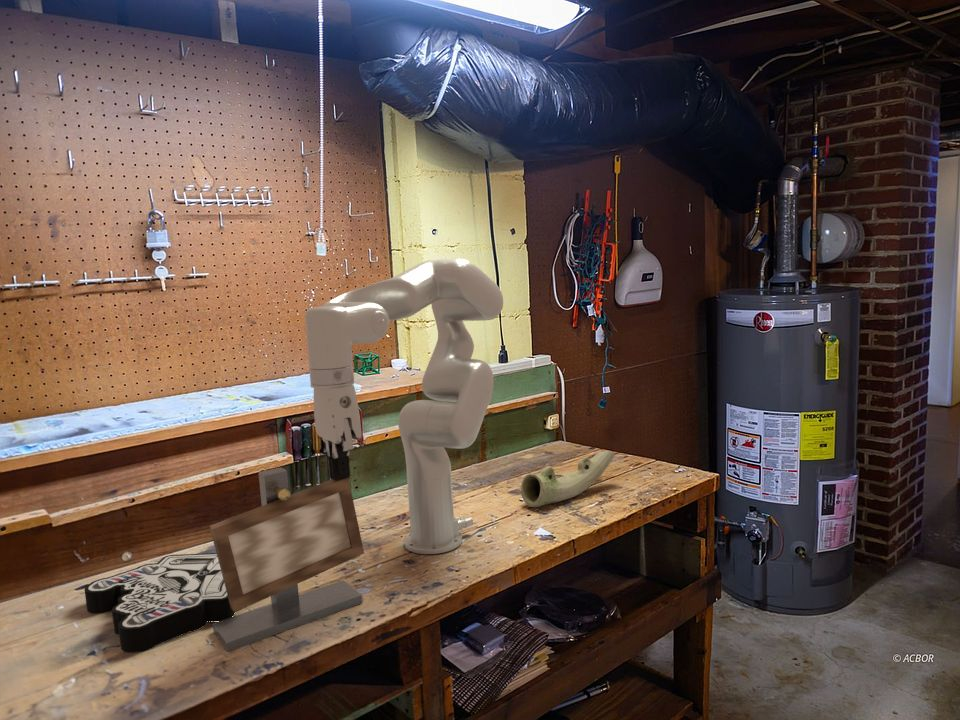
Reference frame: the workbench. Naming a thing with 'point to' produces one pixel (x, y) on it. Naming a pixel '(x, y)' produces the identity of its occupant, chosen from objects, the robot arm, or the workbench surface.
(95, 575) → the workbench surface
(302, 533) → the picture frame
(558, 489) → the pipe
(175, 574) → the decorative sign
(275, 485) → the tabletop sign stand
